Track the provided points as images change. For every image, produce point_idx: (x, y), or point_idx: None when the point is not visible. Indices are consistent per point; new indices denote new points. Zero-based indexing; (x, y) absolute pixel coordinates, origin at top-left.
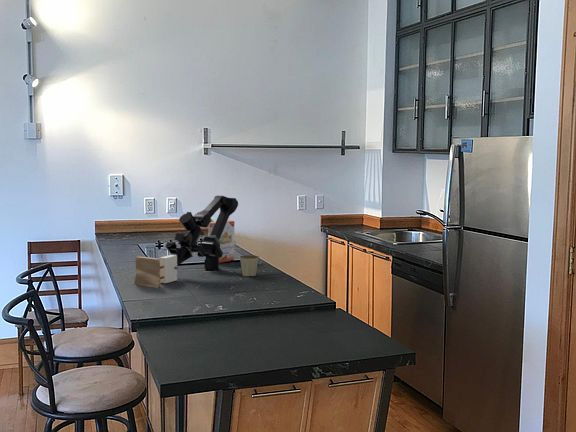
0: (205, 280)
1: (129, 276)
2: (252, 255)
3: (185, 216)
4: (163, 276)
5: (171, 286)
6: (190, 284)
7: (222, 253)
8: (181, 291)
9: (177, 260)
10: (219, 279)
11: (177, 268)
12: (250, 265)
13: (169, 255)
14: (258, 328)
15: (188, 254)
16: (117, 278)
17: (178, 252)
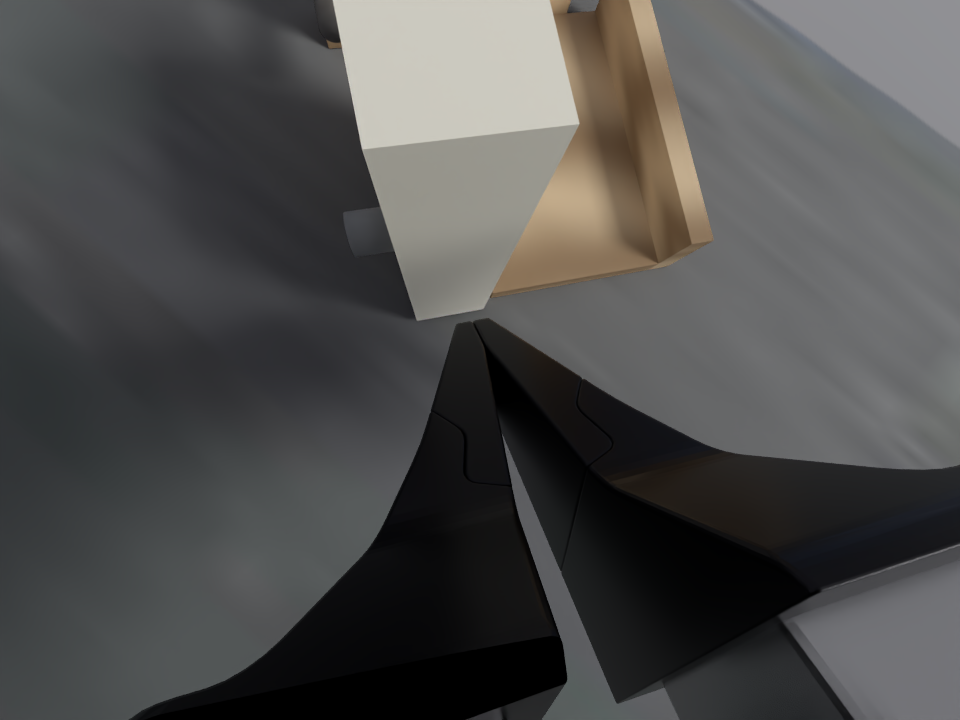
0: (191, 535)
1: (851, 182)
2: None
3: None
4: (322, 11)
5: (262, 118)
6: (176, 290)
7: None
8: (10, 23)
9: (497, 345)
10: (91, 697)
11: (351, 243)
12: None
13: (531, 7)
14: None
15: (403, 714)
16: (845, 77)
17: (662, 467)
